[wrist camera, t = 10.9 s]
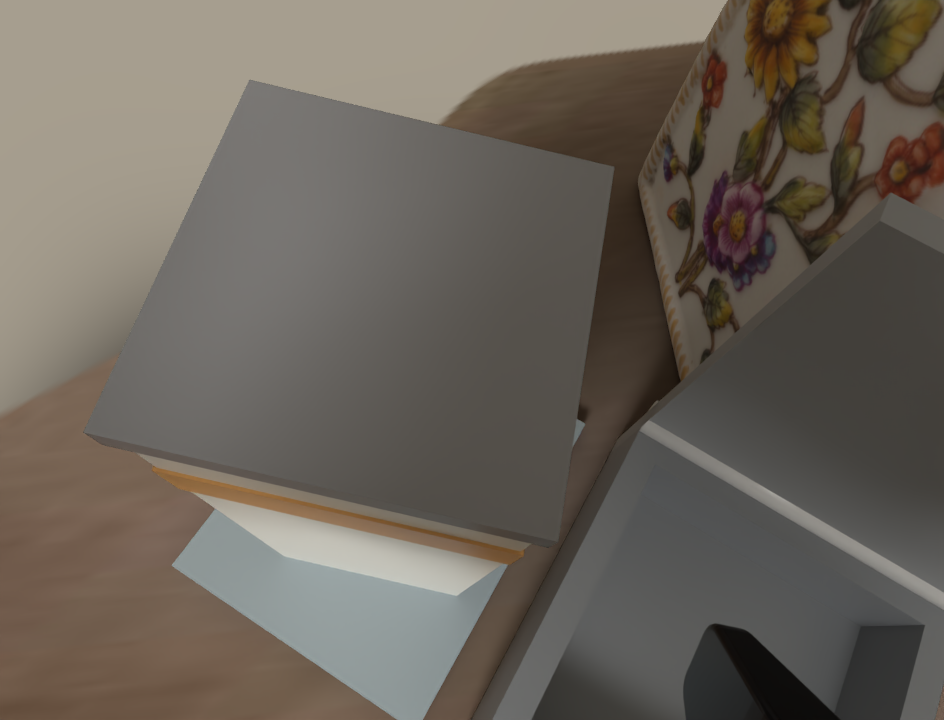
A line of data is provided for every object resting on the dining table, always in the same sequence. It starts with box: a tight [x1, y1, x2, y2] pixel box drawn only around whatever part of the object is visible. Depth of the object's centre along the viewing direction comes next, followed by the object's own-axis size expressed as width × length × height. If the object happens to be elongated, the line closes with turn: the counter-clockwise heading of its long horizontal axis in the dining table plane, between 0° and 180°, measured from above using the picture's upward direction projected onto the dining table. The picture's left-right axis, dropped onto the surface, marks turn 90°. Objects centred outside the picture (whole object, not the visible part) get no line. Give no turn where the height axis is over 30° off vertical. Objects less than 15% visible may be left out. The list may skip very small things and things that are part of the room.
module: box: [83, 80, 615, 596], centre depth 14 cm, size 5×5×12 cm
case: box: [471, 193, 944, 720], centre depth 13 cm, size 10×10×13 cm
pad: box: [172, 419, 585, 720], centre depth 20 cm, size 10×8×1 cm
